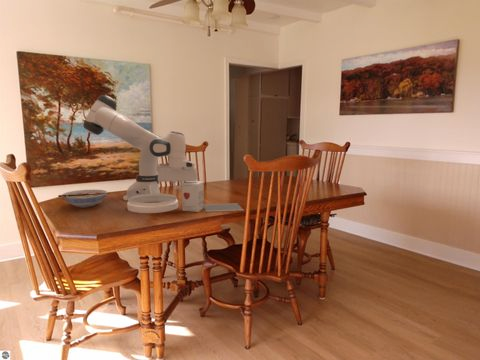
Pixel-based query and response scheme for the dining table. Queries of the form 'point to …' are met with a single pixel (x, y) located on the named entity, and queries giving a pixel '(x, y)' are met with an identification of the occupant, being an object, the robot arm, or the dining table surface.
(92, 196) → the ramen bowl
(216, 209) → the grey flat slab
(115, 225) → the dining table surface
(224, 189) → the dining table surface
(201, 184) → the supplement box
